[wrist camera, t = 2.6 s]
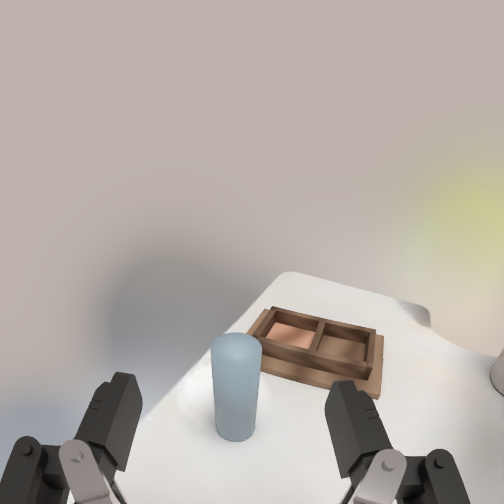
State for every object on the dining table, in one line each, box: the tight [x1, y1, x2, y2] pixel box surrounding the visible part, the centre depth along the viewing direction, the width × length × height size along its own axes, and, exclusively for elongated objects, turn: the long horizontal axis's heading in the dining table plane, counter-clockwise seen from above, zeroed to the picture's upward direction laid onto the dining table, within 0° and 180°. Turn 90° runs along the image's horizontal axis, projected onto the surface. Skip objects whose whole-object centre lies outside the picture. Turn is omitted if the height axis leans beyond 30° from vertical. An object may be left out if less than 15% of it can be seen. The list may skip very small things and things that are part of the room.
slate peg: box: [211, 333, 262, 442], centre depth 26 cm, size 4×4×13 cm
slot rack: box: [246, 306, 384, 399], centre depth 41 cm, size 22×14×4 cm, turn 67°
